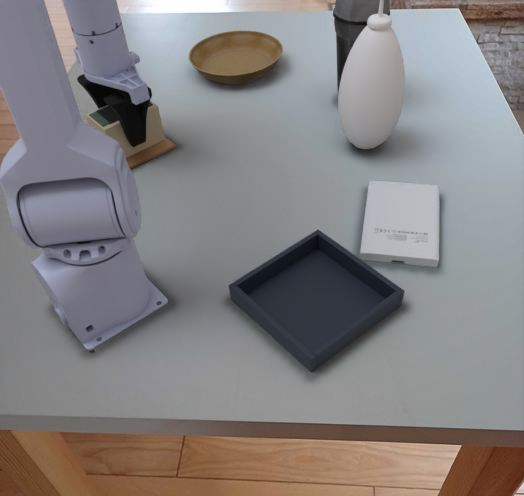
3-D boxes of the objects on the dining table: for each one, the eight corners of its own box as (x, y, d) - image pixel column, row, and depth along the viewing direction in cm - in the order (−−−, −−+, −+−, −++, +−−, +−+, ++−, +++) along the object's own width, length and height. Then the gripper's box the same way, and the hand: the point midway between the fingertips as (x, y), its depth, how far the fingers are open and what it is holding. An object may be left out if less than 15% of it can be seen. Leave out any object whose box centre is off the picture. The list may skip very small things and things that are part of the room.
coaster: (119, 175, 68) (118, 172, 68) (86, 146, 72) (85, 144, 72) (176, 147, 71) (175, 144, 71) (141, 121, 75) (141, 119, 75)
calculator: (115, 163, 69) (103, 128, 65) (96, 147, 71) (84, 113, 67) (165, 139, 72) (157, 104, 68) (146, 125, 74) (137, 90, 70)
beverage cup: (388, 106, 74) (413, -67, 58) (342, 118, 73) (355, -55, 57) (364, 83, 78) (381, -85, 62) (320, 95, 77) (325, -73, 61)
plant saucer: (227, 102, 77) (226, 85, 75) (173, 68, 84) (170, 51, 82) (302, 68, 82) (302, 50, 80) (245, 38, 89) (243, 22, 87)
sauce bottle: (327, 135, 71) (335, -19, 56) (381, 124, 72) (403, -30, 57) (347, 167, 66) (361, 10, 52) (404, 156, 67) (434, -3, 53)
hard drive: (437, 196, 62) (436, 270, 55) (367, 191, 63) (358, 262, 56) (440, 185, 61) (440, 259, 54) (369, 179, 62) (359, 251, 55)
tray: (311, 375, 48) (311, 359, 46) (230, 301, 54) (228, 285, 52) (401, 307, 52) (405, 290, 50) (317, 246, 58) (318, 229, 56)
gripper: (160, 32, 57) (182, 144, 68) (96, -4, 64) (125, 103, 75) (104, 54, 55) (136, 167, 66) (44, 14, 62) (82, 122, 73)
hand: (127, 134), depth 70 cm, fingers closed on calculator, 5 cm apart
